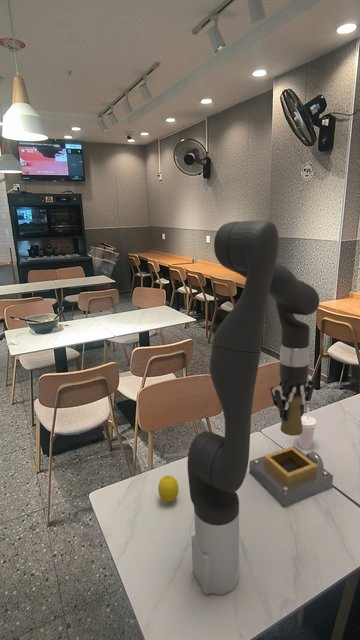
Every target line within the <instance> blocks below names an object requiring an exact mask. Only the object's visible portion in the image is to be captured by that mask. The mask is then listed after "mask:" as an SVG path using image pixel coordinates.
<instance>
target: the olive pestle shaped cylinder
mask: <svg viewBox="0 0 360 640" xmlns="http://www.w3.org/2000/svg"><path fill="white" fill-rule="evenodd" d="M285 397H286V398H288V396H286V395H285ZM284 404H285V400H284ZM301 405H302V397H301V396H300V395H296V396H293V399H292V402H289V407H288V421H286V422H285V421H284V420H282V419H281V423H280V427H279V428H280V431H281V432H282V433H283V434H284V435H288V436H292V437H295V436H296V437H297V436H298V435H300V434H302V432H303V429H302V420H301V410H300V406H301Z"/></svg>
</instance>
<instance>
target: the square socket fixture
mask: <svg viewBox="0 0 360 640" xmlns="http://www.w3.org/2000/svg"><path fill="white" fill-rule="evenodd" d="M248 465H249V466H248V467H249V470H248V471H249V472H248V473H249V474H250V475H251V476H252V477H253V478H254V479H255V480H256V482H258V483H259V484H260V485H261V486H262V487H263V488H264V489H265V490H266V491H267V492H268V493H269V494H270V495H271V496H272V497H273V498H274V499H275V500H276V501H277V502H278V503H279V504H280V505H281V506H282V507H283V509H284V508H285V509H286V508H287V507H290V506H292V505H294V504H296V503H298V502H301V501H303V500H305V499H308V498H311V497H313V496H316V495H318V494H321V493H323V492H324V491H325V492H326V491H327V490H330V489H333V481H334V475H333V474H332V473H330V471H328V470H326V469H325V468H324V462H323V460H322V458H321V455H320V454H319V453H317V452H315V451H311V452H309V453H306V454H305V453H304V452H302V451H301V450H300V449H299V448H297V447H296V446H295V445H293V446H290V447H287V448H284V449H281V450H278V451H276V452H272V453H269V454H267V455H264V456H261V457H257V458H255V459H252V460H249V462H248Z"/></svg>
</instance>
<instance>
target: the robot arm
mask: <svg viewBox="0 0 360 640" xmlns="http://www.w3.org/2000/svg"><path fill="white" fill-rule="evenodd" d="M279 241H280V240H279V231H278V228H277V226H276V224H275V223H274V222H273V221H270V220H247V221H246V220H243V221H242V220H241V221H231V222H227V223H224V224H223V225H221V226H220V227H219V228H218V229H217V231H216V233H215V235H214V239H213V251H214V255H215V258H216V260H217V261H218V263H219V264H220V265H221V266H222V267H224V268H226V269H227V270H229V271H231V272H234V273H235V274H238V275H240V276H242V277H244V278H246V279H245V283H244V286H243V290H242V293H241V295H240V297H239V299H238V300H237V302H236V304H235V305H234V306H233V308H232V309H231V310H230V311H229V313H227V315H226V316H225V318H224V319H223V321H222V322H221V323H220V324H219V326H218V327H217V329H216V331H215V332H214V335H213V338H212V339H213V340H212V345H211V352H210V359H209V373H210V378H211V381H212V385H213V387H214V390H215V393H216V396H217V398H218V400H219V403H220V406H221V409H222V413H223V418H224V436H222V435H220V434H218V433H215V432H212V431H207V430H205V431H201V432H200V433H198V434H197V435H196V436H195V437H194V438H193V439H192V441H191V443H190V447H189V449H188V453H187V476H188V477H187V478H188V486H189V487H188V488H189V497H190V500H191V503H192V505H193V511H194V516H193V518H194V534H193V535H192V536H191V538H190V540H191V559H192V560H191V561H192V562H191V564H192V574H193V575H194V577H195V579H196V581H197V582H198V585H199V586H200V588H201V591H202V592H203V594H204V596H207V595H210V594H211V595H217V596H218V595H219V596H222V595H225V594H229V593H230V592H232V591H233V590H234V589H235V588H236V587H237V585H238V583H239V579H240V500H239V495H238V493H237V491H238V490H239V489H240V488H241V487H242V485H243V484H244V481H245V478H246V474H247V472H248V467H249V466H248V465H249V462H250V460H249V459H250V446H251V426H252V425H251V423H252V411H253V402H254V396H255V395H254V394H255V388H256V381H257V377H258V370H259V365H260V358H261V357H260V356H261V350H262V349H261V348H262V341H263V340H262V339H263V330H264V323H265V316H266V311H267V304H268V299H269V296H270V297H272V298H273V299H274V300H275V307H276V310H277V315H278V317H279V322H280V326H281V340H280V341H281V344H280V349H279V350H280V351H279V370H278V371H279V373H278V375H279V378H280V382H279V384H278V386H276V387H274V386H272V387H270V389H269V390H270V394H271V398H272V403H273V406H274V407H276V408H277V409H279V418H280V419H281V421H282V420H284V421H285V422H286V421H288V407H289V402H292V399H293V396H296V395H300V396H301V397H302V405H301V406H300V410H301V417H302V416H304V412H305V405H306V403H307V402H310V401H311V399H312V397H313V393H314V389H315V385H316V382H315V380H313V379H311V378H309V368H310V331H311V330H310V329H311V328H310V326H309V325H308V324H307V323H305V322H303V321H300V320H299V319H297V318H296V317H295V315H300V316H310V315H312V314H314V313H315V312H316V311H317V310H318V308H319V306H320V296H319V294H318V292H317V291H316V289H315V288H314V287H313V286H311V285H310V284H308V283H306V282H304V281H302V280H300V279H298V278H297V277H296V276H295V274H294V273H293V272H292V271H291V270H290V269H289V268H288V267H286V266H284V265H283V264H281V263H279V262H277V259H278V252H279ZM285 395H286V396H288V398H286V397H285ZM284 400H285V404H284Z"/></svg>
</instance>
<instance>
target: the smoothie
mask: <svg viewBox="0 0 360 640" xmlns="http://www.w3.org/2000/svg"><path fill="white" fill-rule="evenodd" d="M301 420H302V429H303V432H302V434H300V435H297V436H298V445H299V448H301V449H302V450H303V449H304V450H309V449H311V448H312V443H313V438H314V434H315V430H316V429H315V428H316V426H317V420H316V419H315V418H314V417H312V416H310V407H307V413H306V415H303V416H302V417H301Z"/></svg>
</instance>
